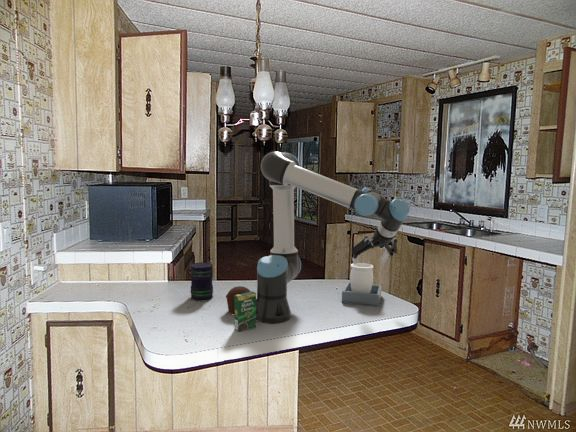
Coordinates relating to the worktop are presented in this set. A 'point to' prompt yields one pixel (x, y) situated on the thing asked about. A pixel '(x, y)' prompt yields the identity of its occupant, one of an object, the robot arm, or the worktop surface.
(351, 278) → the white tapered cylinder
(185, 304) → the worktop surface
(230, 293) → the muffin
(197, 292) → the storage jar
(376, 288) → the bin
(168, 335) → the worktop surface
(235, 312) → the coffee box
